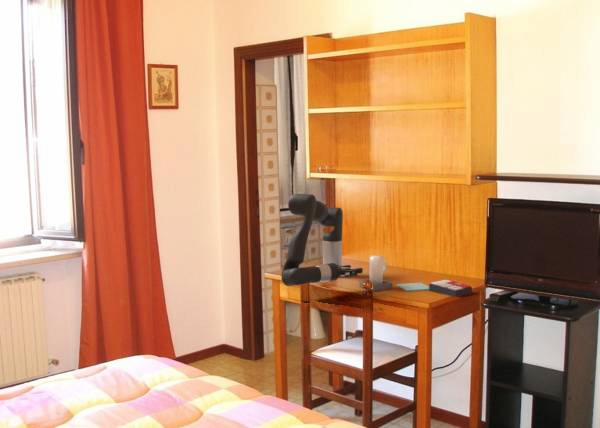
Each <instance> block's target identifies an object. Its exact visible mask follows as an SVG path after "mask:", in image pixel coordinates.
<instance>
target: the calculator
mask: <svg viewBox="0 0 600 428" xmlns="http://www.w3.org/2000/svg"><path fill="white" fill-rule="evenodd" d="M428 287H429V290H428V291H429V292H432V293H436V294H437V293H438V294H441V295H446V296H450V297H454V298H456V297H457V298H458V297H462V296H466V295H470V294H473V287H472V286H471V285H469V284H465V283H461V282H459V281H454V280H448V279H442V280H438V281H433V282H430V283H429V284H428Z"/></svg>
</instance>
